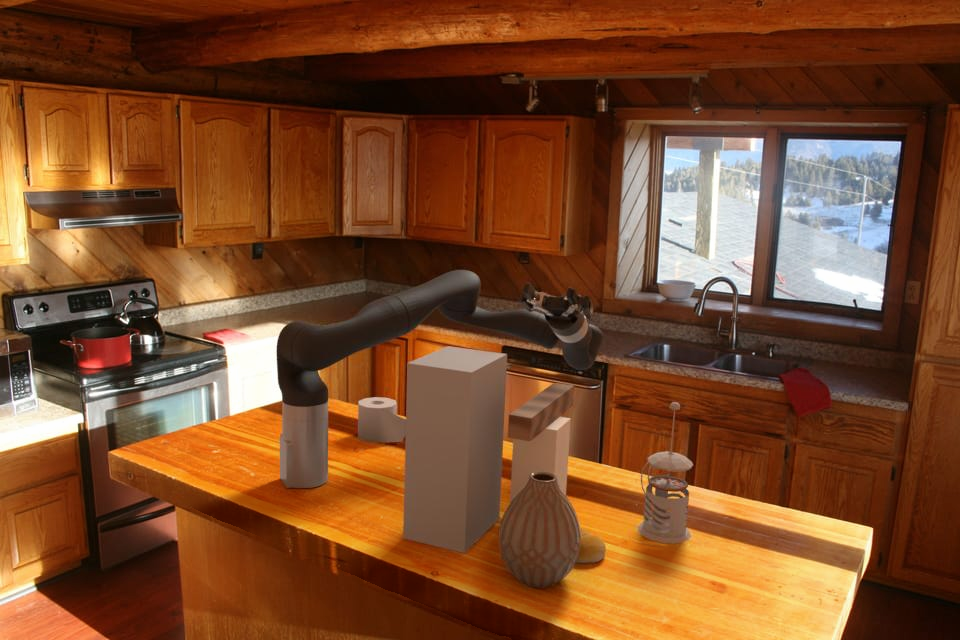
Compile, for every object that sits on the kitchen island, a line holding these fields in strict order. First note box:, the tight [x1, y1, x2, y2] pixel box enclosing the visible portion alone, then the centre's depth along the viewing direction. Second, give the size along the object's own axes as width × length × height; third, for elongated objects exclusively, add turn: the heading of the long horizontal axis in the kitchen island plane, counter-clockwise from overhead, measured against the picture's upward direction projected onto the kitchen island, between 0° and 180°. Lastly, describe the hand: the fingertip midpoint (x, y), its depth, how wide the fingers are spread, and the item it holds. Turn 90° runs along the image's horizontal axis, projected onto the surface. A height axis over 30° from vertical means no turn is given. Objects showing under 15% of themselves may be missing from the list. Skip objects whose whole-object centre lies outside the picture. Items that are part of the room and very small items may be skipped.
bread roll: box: [575, 527, 607, 564], centre depth 142 cm, size 8×9×4 cm
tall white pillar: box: [402, 345, 508, 554], centre depth 146 cm, size 16×12×32 cm
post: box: [509, 416, 572, 504], centre depth 148 cm, size 8×8×21 cm
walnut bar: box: [507, 382, 575, 441], centre depth 146 cm, size 24×4×4 cm, turn 157°
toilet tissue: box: [357, 396, 406, 444], centre depth 197 cm, size 9×13×9 cm
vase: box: [498, 471, 581, 589], centre depth 131 cm, size 13×13×18 cm
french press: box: [637, 401, 694, 544], centre depth 150 cm, size 10×12×25 cm
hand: (547, 289), depth 157 cm, fingers open, 8 cm apart
